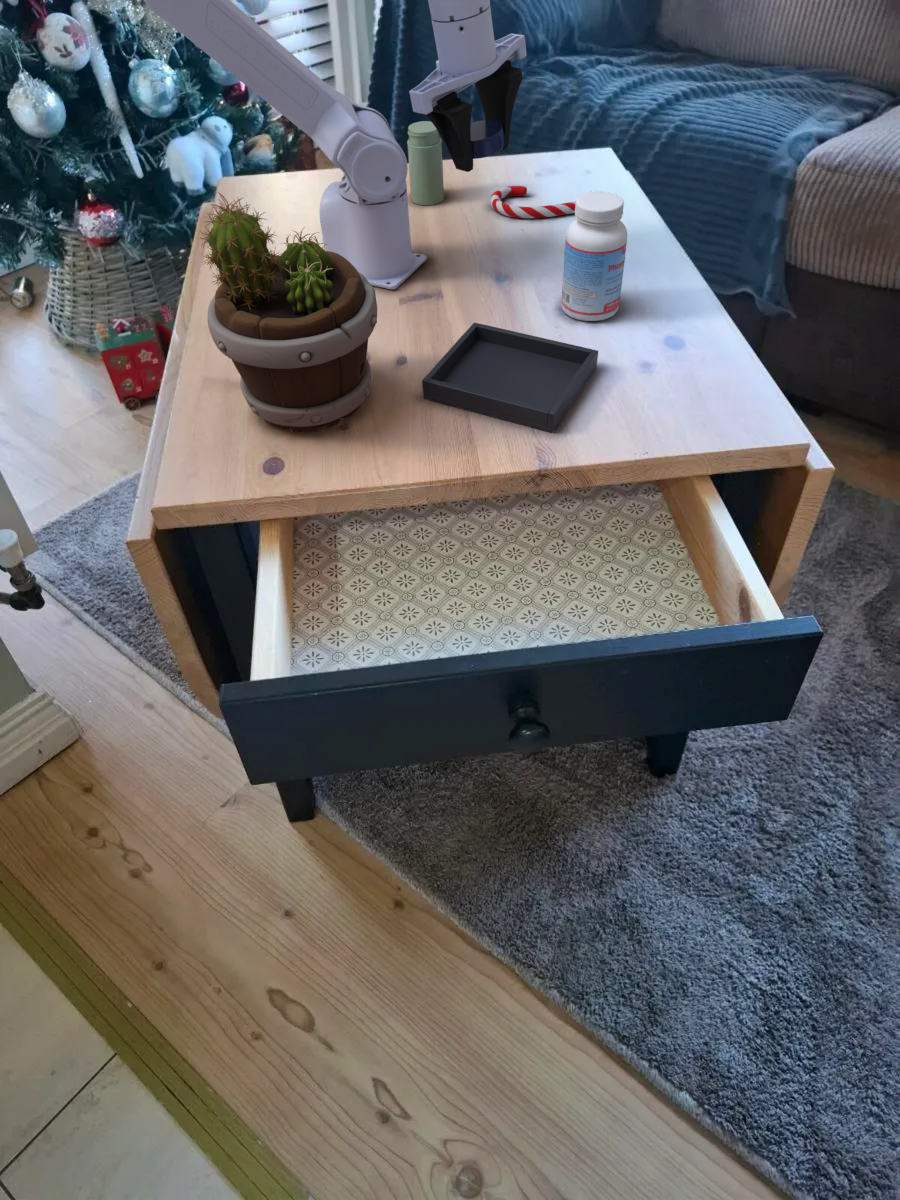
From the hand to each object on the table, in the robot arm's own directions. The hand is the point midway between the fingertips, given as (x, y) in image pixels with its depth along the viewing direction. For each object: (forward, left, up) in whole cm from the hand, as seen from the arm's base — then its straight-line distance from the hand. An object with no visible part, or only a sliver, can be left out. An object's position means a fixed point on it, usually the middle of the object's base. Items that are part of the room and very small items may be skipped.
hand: (482, 157), depth 90 cm
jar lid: (0, 0, +2) cm, 3 cm away
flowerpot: (-2, -33, -11) cm, 35 cm away
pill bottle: (+16, -7, -11) cm, 20 cm away
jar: (-13, +11, -11) cm, 20 cm away
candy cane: (+2, +15, -11) cm, 19 cm away
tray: (+14, -23, -11) cm, 29 cm away
